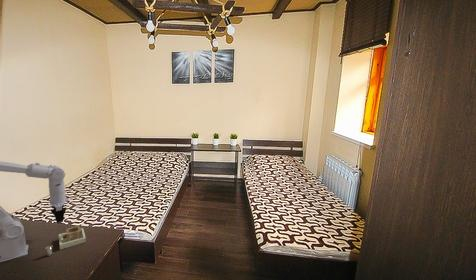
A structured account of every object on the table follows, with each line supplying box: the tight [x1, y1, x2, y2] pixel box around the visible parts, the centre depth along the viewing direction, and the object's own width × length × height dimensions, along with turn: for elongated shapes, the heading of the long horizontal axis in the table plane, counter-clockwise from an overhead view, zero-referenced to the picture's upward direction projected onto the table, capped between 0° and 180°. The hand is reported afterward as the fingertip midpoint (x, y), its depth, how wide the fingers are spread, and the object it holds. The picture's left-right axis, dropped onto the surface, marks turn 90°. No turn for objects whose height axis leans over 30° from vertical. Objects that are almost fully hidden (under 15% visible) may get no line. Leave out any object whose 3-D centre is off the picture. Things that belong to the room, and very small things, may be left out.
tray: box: [58, 227, 87, 251], centre depth 110 cm, size 10×10×2 cm
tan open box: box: [63, 225, 82, 242], centre depth 110 cm, size 7×5×5 cm
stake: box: [44, 244, 53, 257], centre depth 100 cm, size 2×2×4 cm
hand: (59, 218), depth 111 cm, fingers open, 7 cm apart
